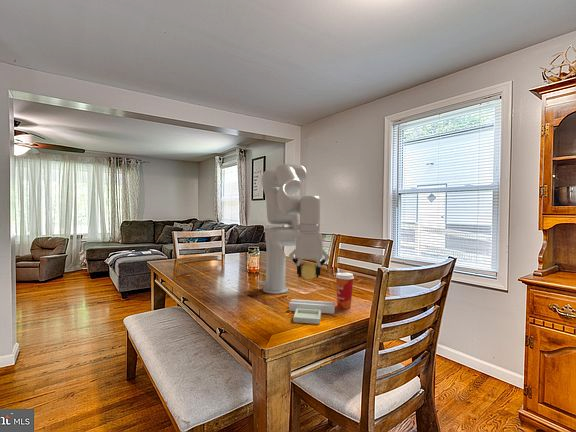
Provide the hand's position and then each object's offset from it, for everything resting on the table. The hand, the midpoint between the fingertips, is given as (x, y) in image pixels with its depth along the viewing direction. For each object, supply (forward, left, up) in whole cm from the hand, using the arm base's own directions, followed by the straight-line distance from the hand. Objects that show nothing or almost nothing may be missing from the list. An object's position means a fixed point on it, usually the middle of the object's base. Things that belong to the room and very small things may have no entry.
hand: (308, 276), depth 112 cm
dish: (0, 0, -16) cm, 16 cm away
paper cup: (+14, +16, -16) cm, 27 cm away
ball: (0, 0, +2) cm, 2 cm away
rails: (+1, +9, -16) cm, 19 cm away
